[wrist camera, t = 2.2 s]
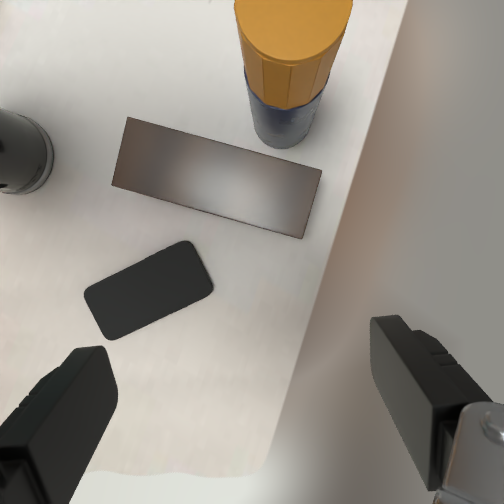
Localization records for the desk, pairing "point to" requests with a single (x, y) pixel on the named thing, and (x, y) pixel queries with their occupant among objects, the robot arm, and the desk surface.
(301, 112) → the flask
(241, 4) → the cap
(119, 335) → the phone
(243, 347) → the desk surface
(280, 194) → the small brown bench
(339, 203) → the desk surface
